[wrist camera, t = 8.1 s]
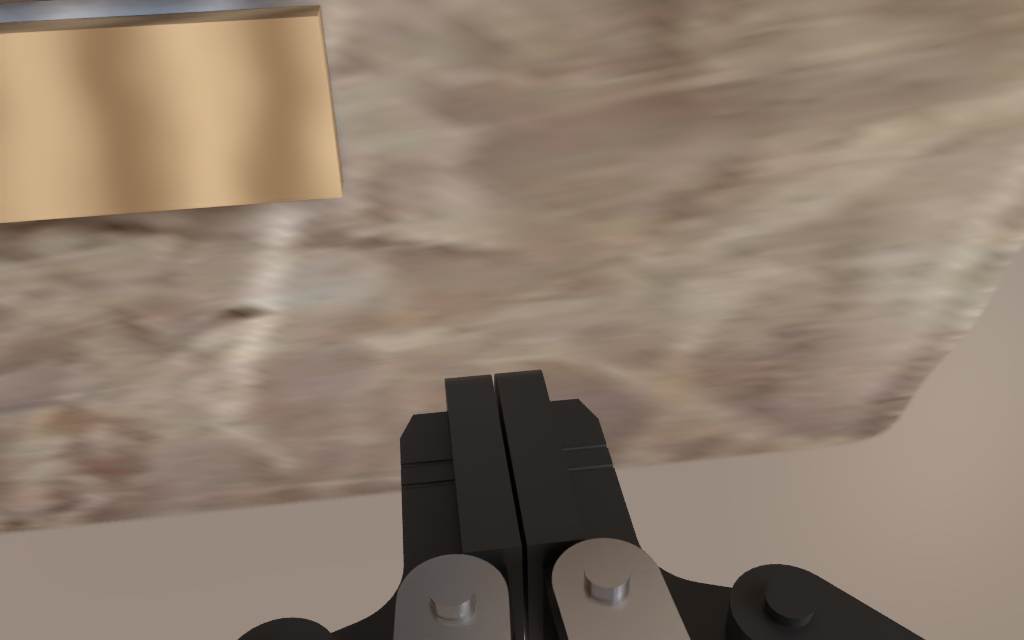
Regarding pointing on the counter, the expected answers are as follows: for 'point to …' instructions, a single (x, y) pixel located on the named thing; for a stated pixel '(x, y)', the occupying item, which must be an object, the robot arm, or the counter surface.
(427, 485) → the robot arm
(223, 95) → the oak plank
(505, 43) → the counter surface
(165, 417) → the counter surface
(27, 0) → the walnut board
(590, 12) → the counter surface
